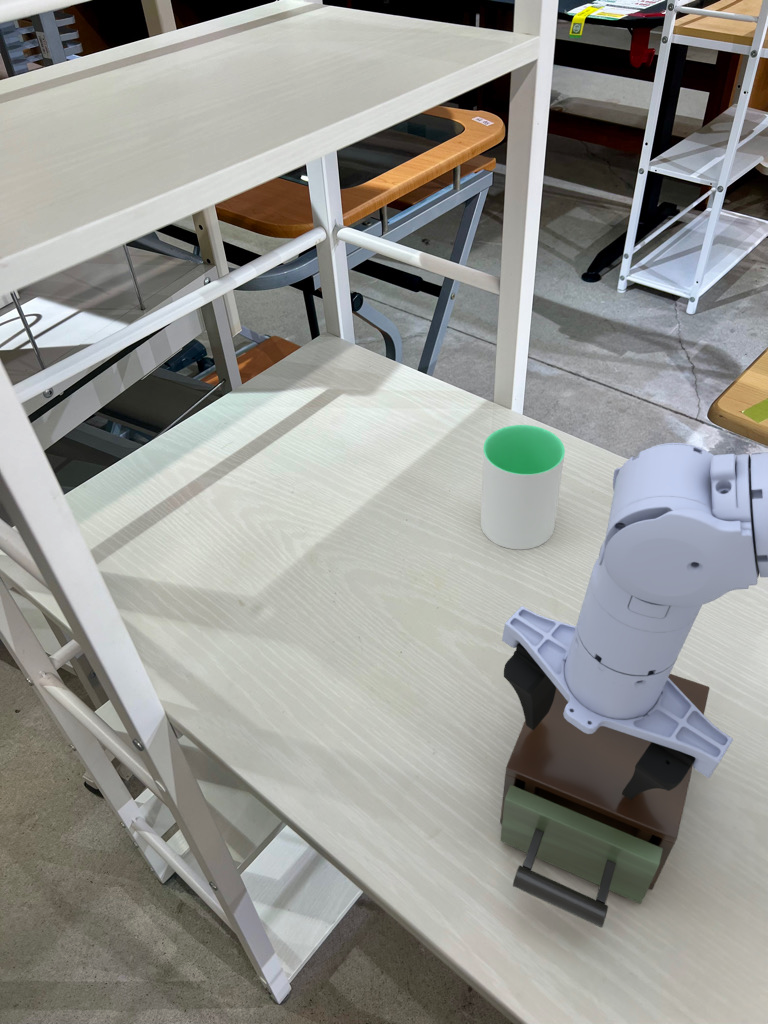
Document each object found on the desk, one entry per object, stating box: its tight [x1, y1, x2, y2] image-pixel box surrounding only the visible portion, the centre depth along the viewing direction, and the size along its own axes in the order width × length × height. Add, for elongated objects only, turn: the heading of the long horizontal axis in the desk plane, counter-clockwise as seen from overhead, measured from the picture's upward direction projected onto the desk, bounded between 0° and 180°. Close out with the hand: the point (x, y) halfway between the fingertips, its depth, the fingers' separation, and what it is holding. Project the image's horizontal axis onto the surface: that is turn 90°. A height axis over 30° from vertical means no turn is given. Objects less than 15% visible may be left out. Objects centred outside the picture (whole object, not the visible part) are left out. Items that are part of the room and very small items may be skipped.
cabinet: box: [499, 673, 711, 890], centre depth 57 cm, size 13×12×9 cm
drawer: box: [499, 782, 663, 928], centre depth 54 cm, size 16×10×7 cm, turn 153°
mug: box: [480, 424, 566, 550], centre depth 80 cm, size 12×8×10 cm
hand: (583, 751), depth 52 cm, fingers open, 7 cm apart
